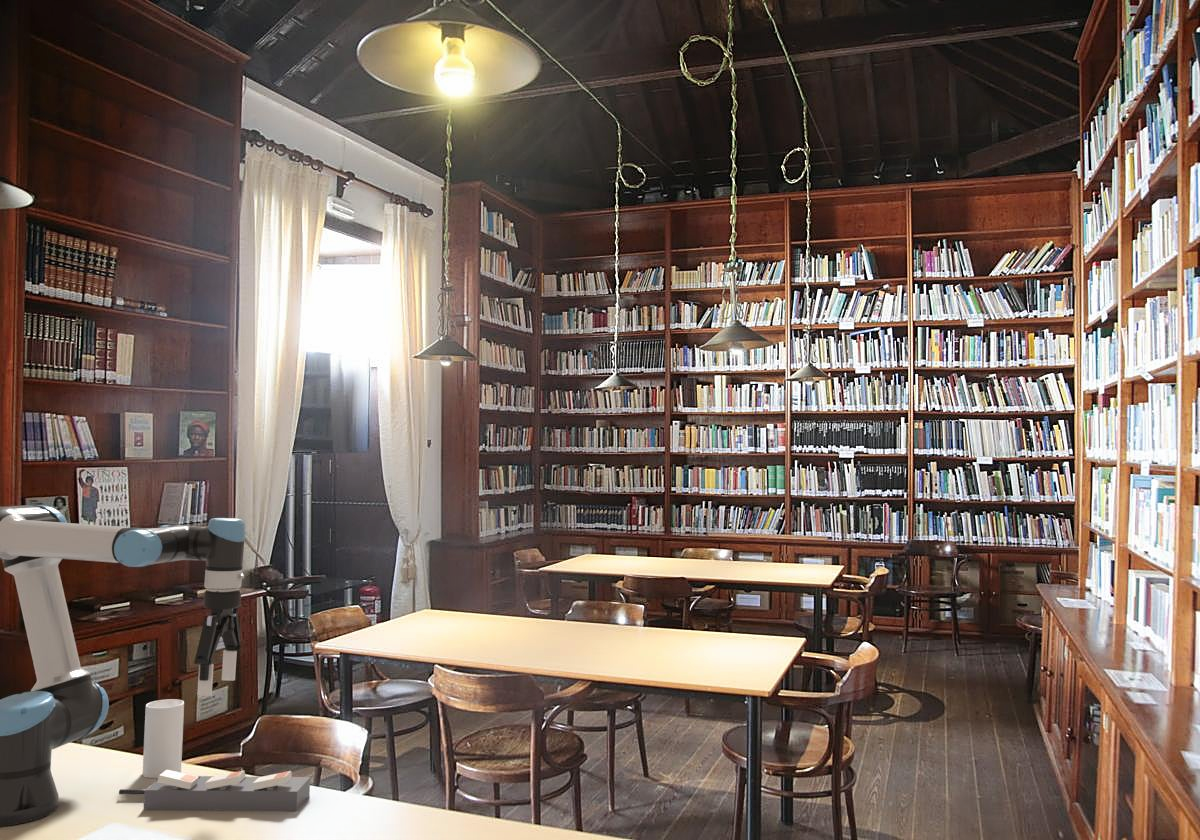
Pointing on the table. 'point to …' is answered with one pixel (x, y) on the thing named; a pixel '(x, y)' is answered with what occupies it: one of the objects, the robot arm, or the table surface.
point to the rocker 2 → (225, 780)
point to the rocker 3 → (272, 780)
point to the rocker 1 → (178, 779)
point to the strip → (226, 796)
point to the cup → (163, 737)
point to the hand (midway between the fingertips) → (216, 687)
